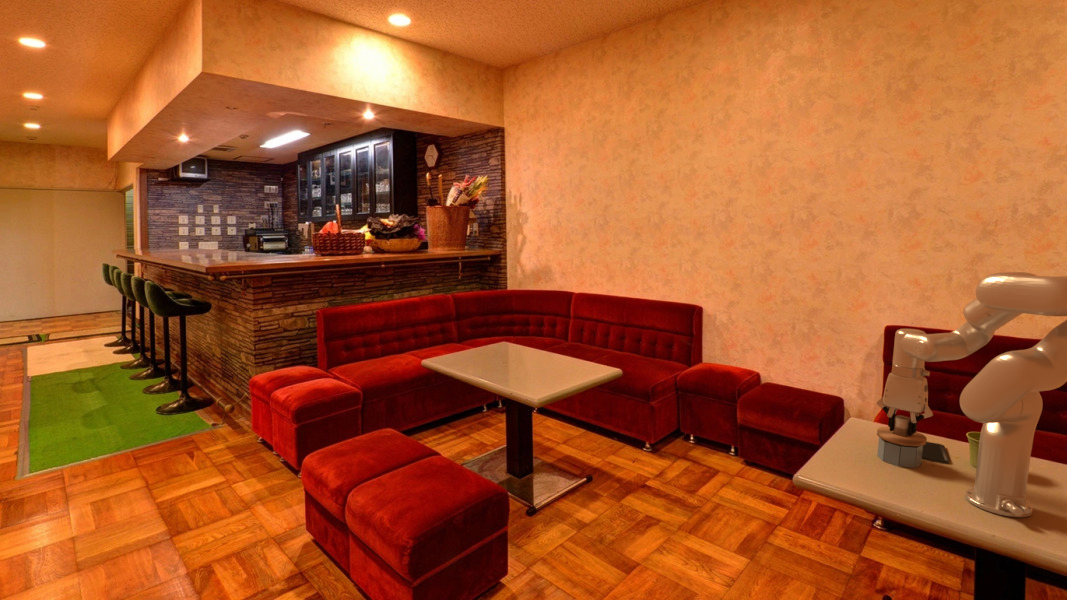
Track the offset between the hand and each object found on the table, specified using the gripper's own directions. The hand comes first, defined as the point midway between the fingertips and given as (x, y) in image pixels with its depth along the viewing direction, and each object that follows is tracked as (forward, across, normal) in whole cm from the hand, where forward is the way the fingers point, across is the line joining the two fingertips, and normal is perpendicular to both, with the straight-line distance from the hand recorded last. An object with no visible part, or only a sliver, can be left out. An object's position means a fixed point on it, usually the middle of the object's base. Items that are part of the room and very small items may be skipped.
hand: (901, 431), depth 157 cm
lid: (+2, 0, 0) cm, 2 cm away
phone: (+9, -4, -14) cm, 17 cm away
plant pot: (+9, -17, -14) cm, 24 cm away
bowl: (+9, 0, 0) cm, 9 cm away
